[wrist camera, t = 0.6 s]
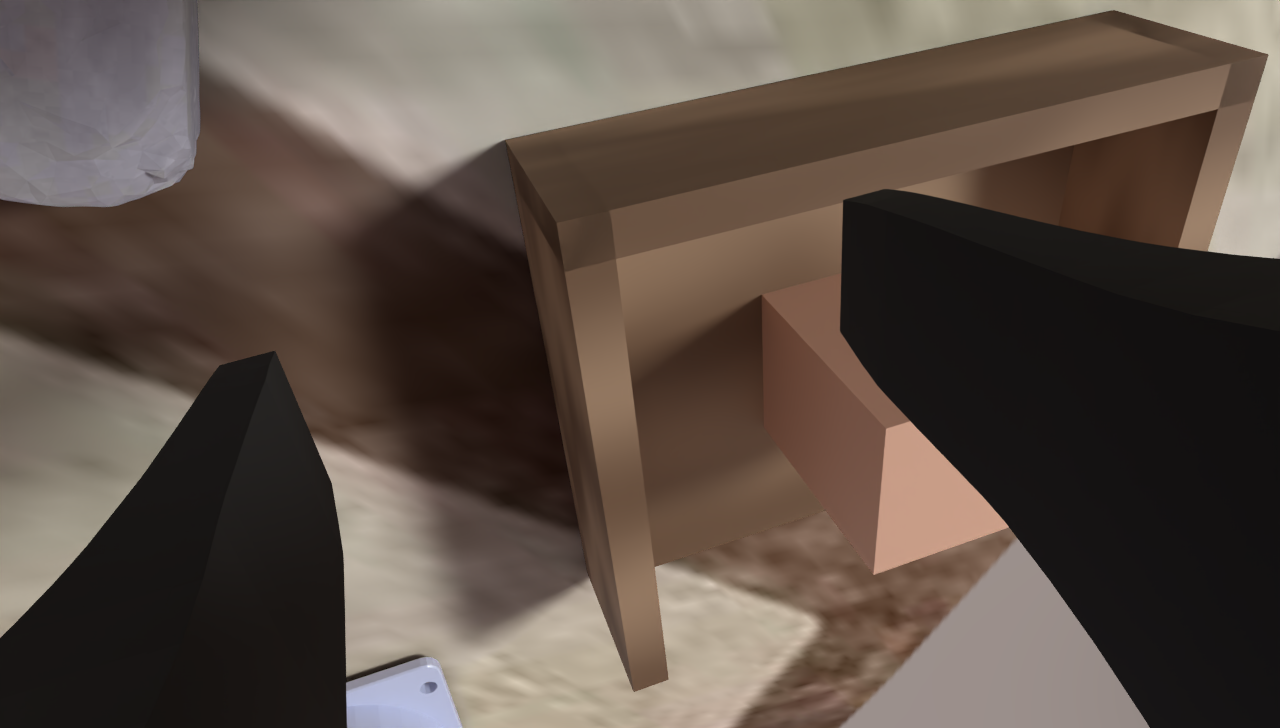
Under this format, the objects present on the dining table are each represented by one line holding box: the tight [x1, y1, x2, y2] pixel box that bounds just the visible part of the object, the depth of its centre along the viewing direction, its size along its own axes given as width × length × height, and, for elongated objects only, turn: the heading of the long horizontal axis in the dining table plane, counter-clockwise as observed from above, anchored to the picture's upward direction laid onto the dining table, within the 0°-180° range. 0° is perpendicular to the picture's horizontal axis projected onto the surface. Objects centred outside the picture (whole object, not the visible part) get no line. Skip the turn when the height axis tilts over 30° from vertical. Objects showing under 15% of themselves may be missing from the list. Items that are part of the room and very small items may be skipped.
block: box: [762, 273, 1009, 575], centre depth 23 cm, size 4×4×6 cm
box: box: [505, 10, 1268, 692], centre depth 23 cm, size 14×16×4 cm
